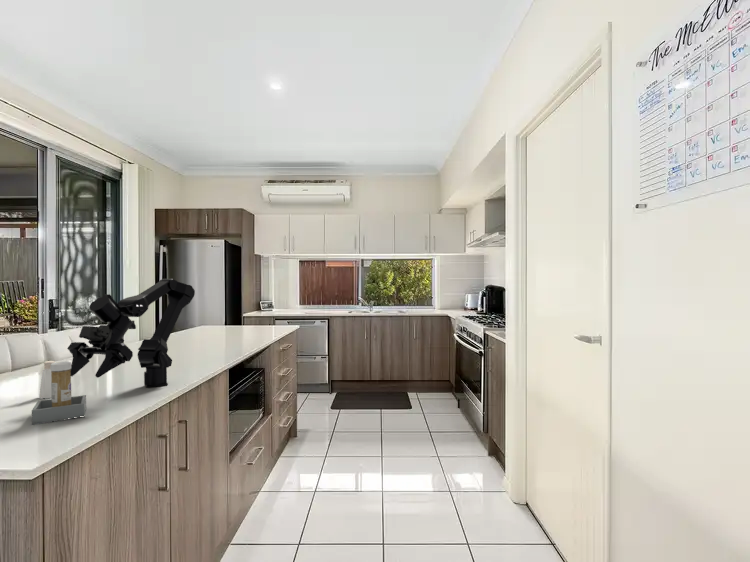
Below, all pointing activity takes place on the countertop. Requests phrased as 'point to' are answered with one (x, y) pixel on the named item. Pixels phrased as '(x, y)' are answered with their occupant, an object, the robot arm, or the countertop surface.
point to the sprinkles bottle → (61, 384)
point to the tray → (58, 410)
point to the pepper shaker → (46, 381)
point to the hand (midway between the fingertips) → (83, 376)
